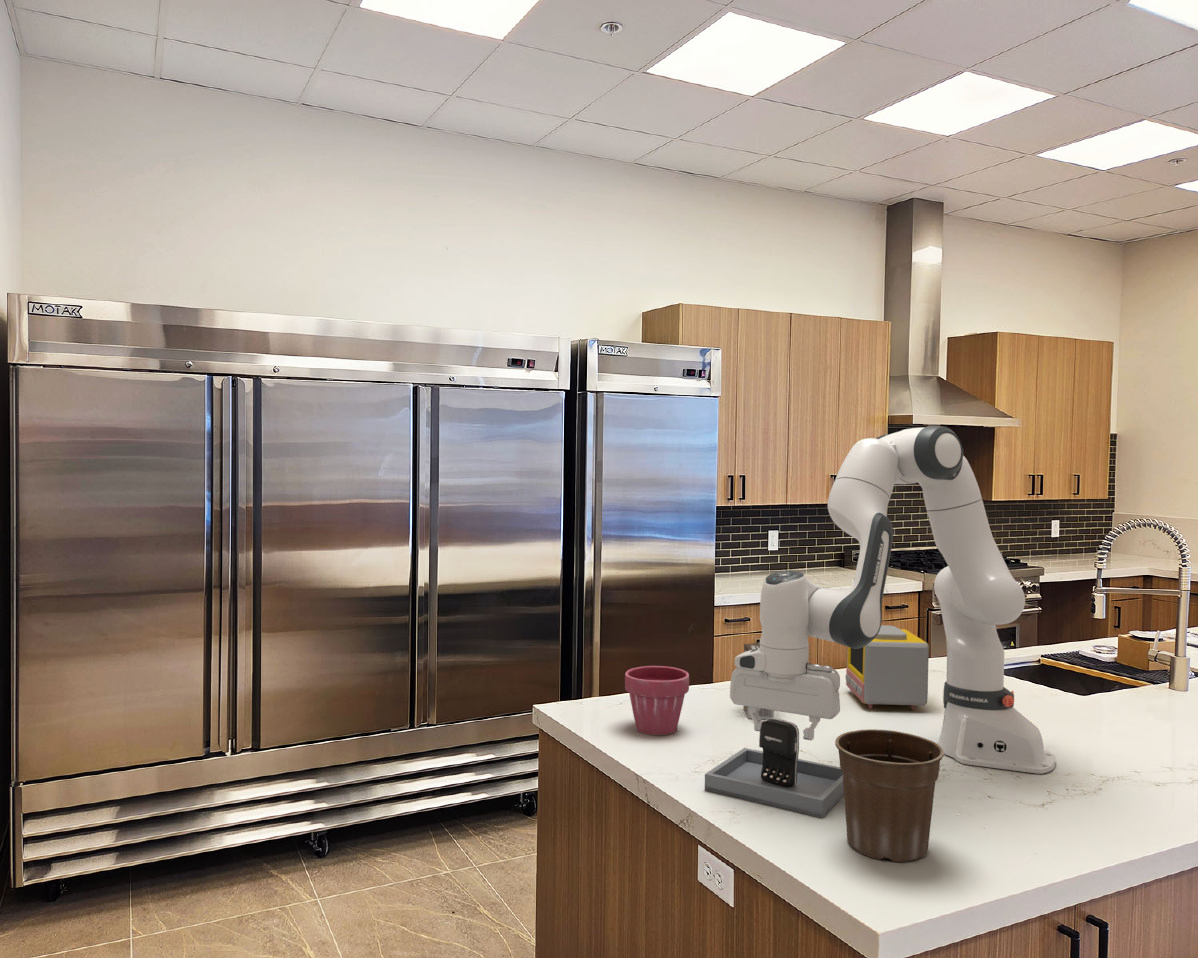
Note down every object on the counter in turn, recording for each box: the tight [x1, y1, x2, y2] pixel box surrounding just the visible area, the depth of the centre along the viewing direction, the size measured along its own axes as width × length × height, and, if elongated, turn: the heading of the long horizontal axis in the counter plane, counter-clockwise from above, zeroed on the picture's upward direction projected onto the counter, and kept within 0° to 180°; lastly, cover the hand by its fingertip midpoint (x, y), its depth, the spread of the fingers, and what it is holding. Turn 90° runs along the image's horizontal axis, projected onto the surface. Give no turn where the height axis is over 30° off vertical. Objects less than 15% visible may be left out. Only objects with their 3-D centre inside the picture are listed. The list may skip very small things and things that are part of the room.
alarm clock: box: [845, 624, 930, 711], centre depth 225 cm, size 20×16×18 cm
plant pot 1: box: [624, 665, 690, 736], centre depth 199 cm, size 14×14×13 cm
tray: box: [704, 747, 844, 819], centre depth 164 cm, size 22×18×3 cm
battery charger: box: [758, 717, 800, 787], centre depth 164 cm, size 7×4×11 cm, turn 47°
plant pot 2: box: [834, 729, 945, 863], centre depth 140 cm, size 16×16×16 cm
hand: (783, 734), depth 164 cm, fingers open, 8 cm apart
